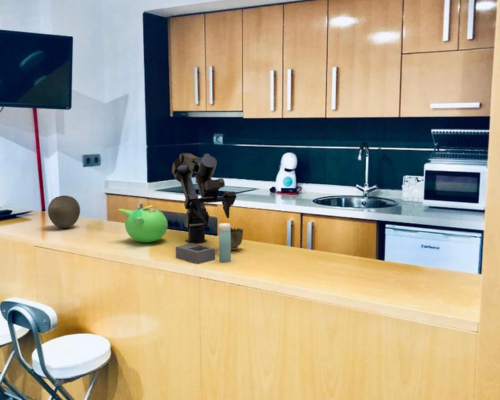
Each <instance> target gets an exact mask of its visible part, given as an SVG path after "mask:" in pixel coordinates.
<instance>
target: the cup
mask: <svg viewBox="0 0 500 400" xmlns="http://www.w3.org/2000/svg"><path fill="white" fill-rule="evenodd" d="M230 233H231V252H235V251H238V250H239V246H241V244H242V242H243V233H244V229H243V228H239V227H237V228H236V227H234V228H232V227H230Z"/></svg>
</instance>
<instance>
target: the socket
mask: <svg viewBox="0 0 500 400" xmlns="http://www.w3.org/2000/svg"><path fill="white" fill-rule="evenodd" d="M175 258H176V259H179V260H182V261H187V262H190V263H194V264H196V265H197V264H203V263H205V262H206V263H207V262H209V261H215V260H216V248H215V247H211V246H206V245H204V244H203V245H202V244H200V243H196V244H195V243H191V242H189V243H187V244H186V243H185V244H183V245H182V244H181V245H179V246H175Z"/></svg>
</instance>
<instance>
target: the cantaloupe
mask: <svg viewBox="0 0 500 400" xmlns="http://www.w3.org/2000/svg"><path fill="white" fill-rule="evenodd" d="M80 214H81V207H80V204H79V201H78V200H77V199H76V198H74V197H73V196H70V195H59V196H56V197H54V198H53V199H52V200H51V201H50V202H49V204H48V207H47V216H48V217H49V219H50V220H49V221H51V223H52V224H53V225H54V226H55V227H57V228H60V229H67V228H70V227H71V226H73V225H75V224H76V223H77V221H79V217H80Z"/></svg>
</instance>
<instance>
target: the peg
mask: <svg viewBox="0 0 500 400" xmlns="http://www.w3.org/2000/svg"><path fill="white" fill-rule="evenodd" d="M230 228H231V223H229V222H221V223H218V253H219V254H218V258H219V262H220V263H230V262H231V261H232V255H231V253H232V251H231V233H230Z"/></svg>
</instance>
